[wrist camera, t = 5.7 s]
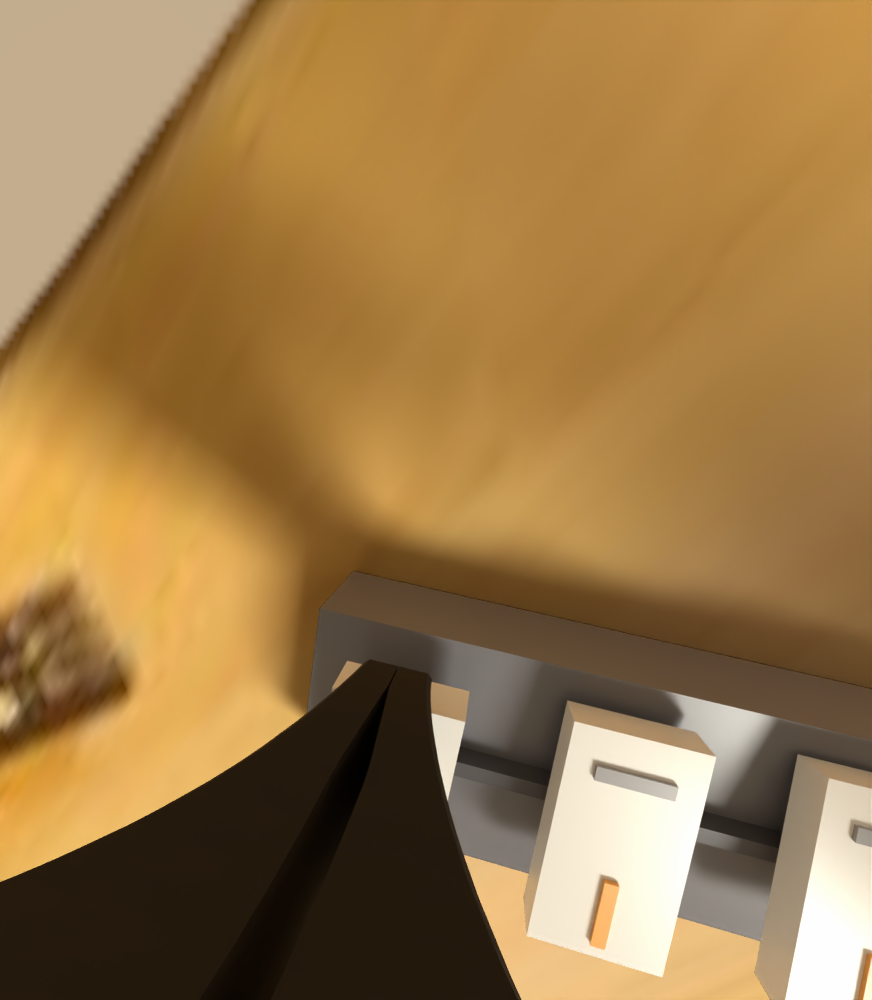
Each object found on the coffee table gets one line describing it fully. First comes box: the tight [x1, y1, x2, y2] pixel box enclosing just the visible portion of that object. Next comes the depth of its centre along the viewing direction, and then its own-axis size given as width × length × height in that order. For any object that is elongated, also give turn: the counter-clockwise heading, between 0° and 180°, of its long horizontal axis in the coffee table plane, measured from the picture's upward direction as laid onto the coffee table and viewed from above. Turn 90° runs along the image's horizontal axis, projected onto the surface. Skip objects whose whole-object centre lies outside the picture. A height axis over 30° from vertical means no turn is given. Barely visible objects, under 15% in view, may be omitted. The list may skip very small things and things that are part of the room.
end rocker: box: [332, 661, 470, 801], centre depth 10 cm, size 3×5×1 cm, turn 170°
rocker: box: [754, 754, 872, 1000], centre depth 9 cm, size 3×5×1 cm, turn 170°
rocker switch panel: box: [307, 571, 872, 941], centre depth 12 cm, size 15×6×3 cm, turn 80°
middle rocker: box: [524, 700, 716, 977], centre depth 10 cm, size 3×5×1 cm, turn 170°
